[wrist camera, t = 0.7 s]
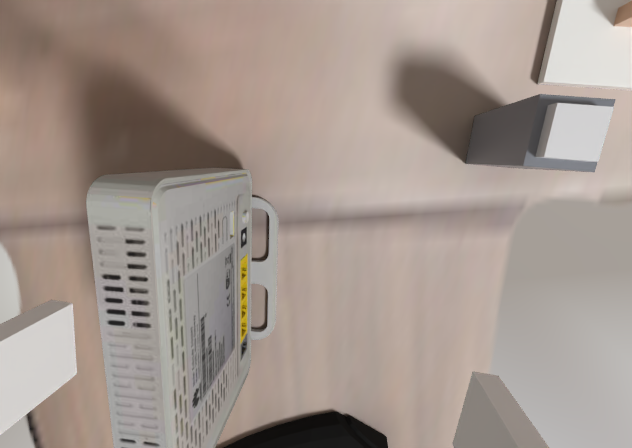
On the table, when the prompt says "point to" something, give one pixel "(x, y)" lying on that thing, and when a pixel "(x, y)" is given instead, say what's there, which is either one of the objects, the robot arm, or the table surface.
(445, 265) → the table surface
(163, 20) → the table surface
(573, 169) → the connector plug
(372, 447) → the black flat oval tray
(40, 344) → the robot arm
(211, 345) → the network device
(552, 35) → the end holder
